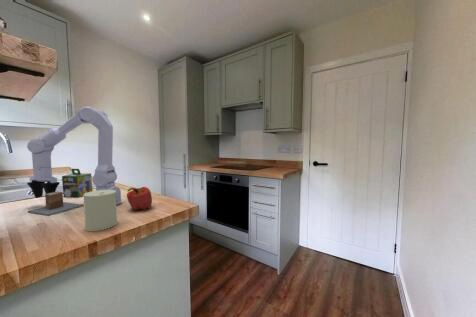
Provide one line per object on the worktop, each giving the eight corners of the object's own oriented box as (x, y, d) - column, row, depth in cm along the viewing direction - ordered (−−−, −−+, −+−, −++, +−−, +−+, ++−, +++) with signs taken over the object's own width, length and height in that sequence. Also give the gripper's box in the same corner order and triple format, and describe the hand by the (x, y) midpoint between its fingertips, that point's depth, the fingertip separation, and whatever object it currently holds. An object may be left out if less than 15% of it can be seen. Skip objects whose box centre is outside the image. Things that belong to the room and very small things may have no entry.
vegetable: (136, 214, 78) (135, 190, 77) (119, 211, 82) (118, 187, 81) (158, 206, 87) (157, 184, 87) (142, 203, 92) (141, 182, 91)
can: (88, 234, 61) (86, 196, 60) (81, 226, 67) (80, 191, 66) (121, 225, 68) (120, 191, 67) (112, 218, 74) (111, 187, 73)
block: (63, 206, 85) (62, 191, 85) (50, 209, 81) (50, 194, 81) (58, 205, 86) (57, 191, 86) (46, 209, 82) (45, 193, 81)
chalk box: (93, 193, 111) (91, 167, 110) (78, 197, 101) (76, 169, 100) (78, 192, 112) (76, 167, 110) (62, 197, 102) (60, 169, 101)
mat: (83, 205, 88) (83, 204, 88) (48, 215, 76) (48, 214, 76) (63, 203, 92) (63, 202, 92) (27, 212, 80) (27, 210, 79)
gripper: (19, 167, 83) (21, 198, 84) (41, 169, 79) (44, 201, 80) (40, 165, 90) (42, 194, 91) (62, 167, 86) (63, 197, 87)
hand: (44, 197), depth 86 cm, fingers open, 7 cm apart
